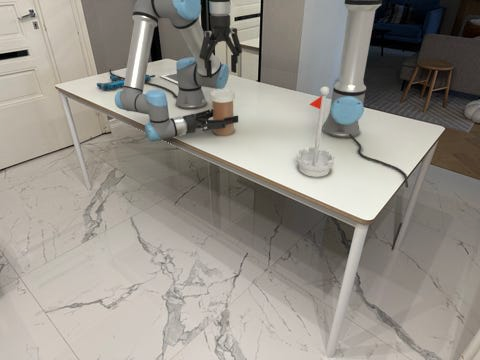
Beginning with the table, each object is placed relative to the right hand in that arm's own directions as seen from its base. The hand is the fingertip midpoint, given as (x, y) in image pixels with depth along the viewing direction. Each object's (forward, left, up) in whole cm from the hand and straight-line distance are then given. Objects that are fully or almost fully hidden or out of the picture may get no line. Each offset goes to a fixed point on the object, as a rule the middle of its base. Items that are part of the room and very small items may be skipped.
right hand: (221, 74), depth 136 cm
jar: (0, 0, -25) cm, 25 cm away
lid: (0, 0, -8) cm, 8 cm away
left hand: (0, -4, -18) cm, 19 cm away
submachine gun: (+91, +27, -25) cm, 98 cm away
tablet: (+81, -9, -25) cm, 85 cm away
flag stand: (-44, -17, -25) cm, 53 cm away
